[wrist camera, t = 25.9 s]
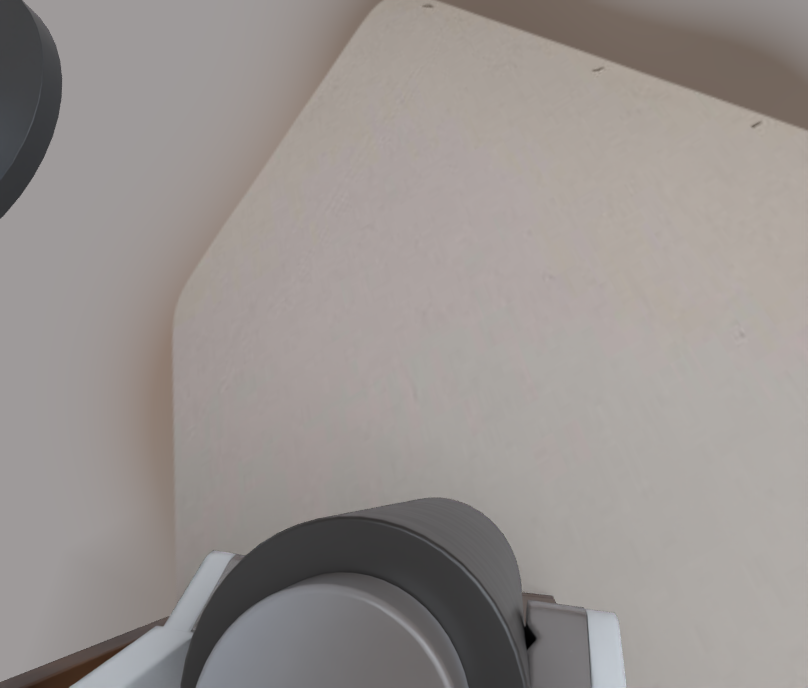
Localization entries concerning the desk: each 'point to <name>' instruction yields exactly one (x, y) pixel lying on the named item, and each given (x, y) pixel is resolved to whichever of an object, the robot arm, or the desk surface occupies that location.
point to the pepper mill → (369, 606)
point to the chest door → (77, 662)
